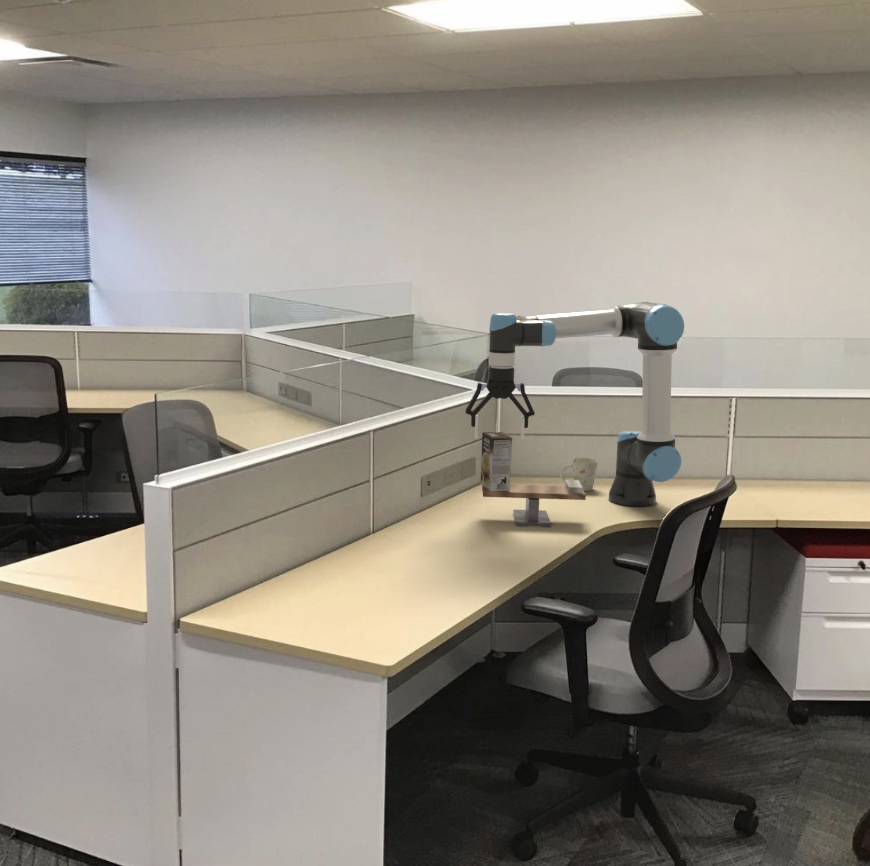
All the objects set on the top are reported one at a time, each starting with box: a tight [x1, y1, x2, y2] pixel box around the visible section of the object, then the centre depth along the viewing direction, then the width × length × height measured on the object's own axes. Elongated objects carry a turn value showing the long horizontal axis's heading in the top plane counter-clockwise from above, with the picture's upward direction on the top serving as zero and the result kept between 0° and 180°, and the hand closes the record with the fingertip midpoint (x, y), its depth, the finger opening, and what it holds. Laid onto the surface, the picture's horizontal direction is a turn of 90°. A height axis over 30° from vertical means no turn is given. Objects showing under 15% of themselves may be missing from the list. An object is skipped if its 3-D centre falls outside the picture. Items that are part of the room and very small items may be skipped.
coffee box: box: [480, 431, 513, 492], centre depth 297 cm, size 9×6×16 cm
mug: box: [559, 457, 599, 492], centre depth 340 cm, size 8×13×10 cm, turn 89°
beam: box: [481, 479, 587, 501], centre depth 299 cm, size 30×10×4 cm, turn 89°
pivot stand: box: [512, 498, 552, 528], centre depth 300 cm, size 10×14×8 cm
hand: (499, 438), depth 296 cm, fingers open, 13 cm apart
